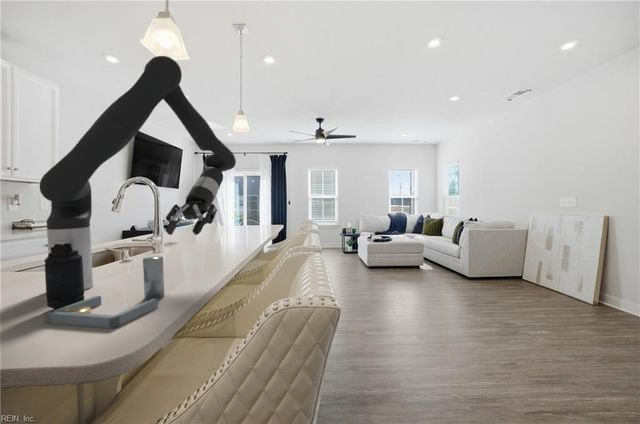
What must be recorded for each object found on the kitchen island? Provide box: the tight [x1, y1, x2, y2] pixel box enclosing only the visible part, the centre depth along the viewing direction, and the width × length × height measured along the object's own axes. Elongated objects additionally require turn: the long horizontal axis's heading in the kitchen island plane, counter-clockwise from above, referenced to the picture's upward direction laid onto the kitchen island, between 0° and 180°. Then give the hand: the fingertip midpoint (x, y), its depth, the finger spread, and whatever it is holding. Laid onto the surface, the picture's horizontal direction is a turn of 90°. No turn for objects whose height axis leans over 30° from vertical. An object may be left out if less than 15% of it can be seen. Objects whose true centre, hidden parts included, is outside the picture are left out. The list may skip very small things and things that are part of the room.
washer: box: [67, 307, 92, 314], centre depth 63 cm, size 4×4×2 cm
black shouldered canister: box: [44, 243, 85, 310], centre depth 68 cm, size 7×7×15 cm
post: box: [142, 255, 165, 301], centre depth 75 cm, size 4×4×10 cm
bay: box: [44, 295, 158, 329], centre depth 64 cm, size 16×11×2 cm
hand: (181, 233), depth 86 cm, fingers open, 8 cm apart
